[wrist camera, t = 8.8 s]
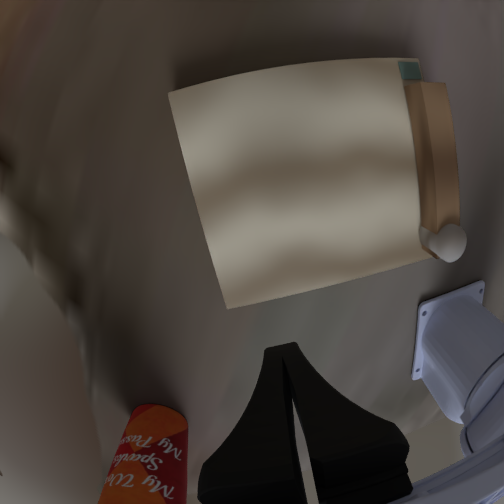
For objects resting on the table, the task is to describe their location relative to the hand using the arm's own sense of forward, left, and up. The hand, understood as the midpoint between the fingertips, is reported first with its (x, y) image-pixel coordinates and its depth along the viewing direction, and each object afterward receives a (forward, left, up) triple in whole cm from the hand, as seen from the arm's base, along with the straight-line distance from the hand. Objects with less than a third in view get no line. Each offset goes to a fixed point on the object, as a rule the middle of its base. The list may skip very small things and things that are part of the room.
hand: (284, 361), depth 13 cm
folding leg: (+5, -12, -7) cm, 15 cm away
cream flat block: (+6, -5, -9) cm, 12 cm away
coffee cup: (-14, +14, -10) cm, 22 cm away
